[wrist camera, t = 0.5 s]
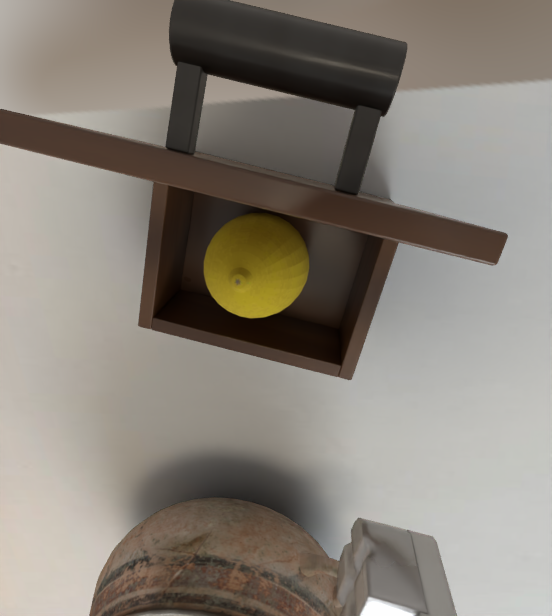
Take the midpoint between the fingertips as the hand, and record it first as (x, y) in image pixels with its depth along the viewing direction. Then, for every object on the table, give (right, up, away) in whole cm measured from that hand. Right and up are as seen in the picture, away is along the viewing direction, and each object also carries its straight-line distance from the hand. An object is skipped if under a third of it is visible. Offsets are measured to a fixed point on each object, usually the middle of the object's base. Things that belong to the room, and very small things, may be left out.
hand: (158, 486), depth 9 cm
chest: (+2, +7, +19) cm, 21 cm away
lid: (+2, +8, +7) cm, 10 cm away
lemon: (+2, +7, +18) cm, 20 cm away
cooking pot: (-1, -17, +29) cm, 33 cm away
